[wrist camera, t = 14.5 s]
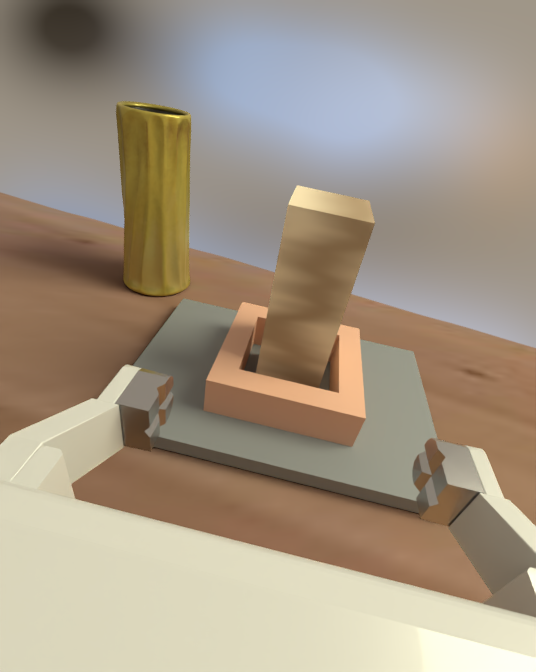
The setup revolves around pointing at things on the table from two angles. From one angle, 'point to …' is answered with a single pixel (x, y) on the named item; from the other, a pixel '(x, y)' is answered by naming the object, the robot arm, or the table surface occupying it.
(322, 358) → the oak post
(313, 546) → the table surface
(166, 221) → the vase
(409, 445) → the socket board
